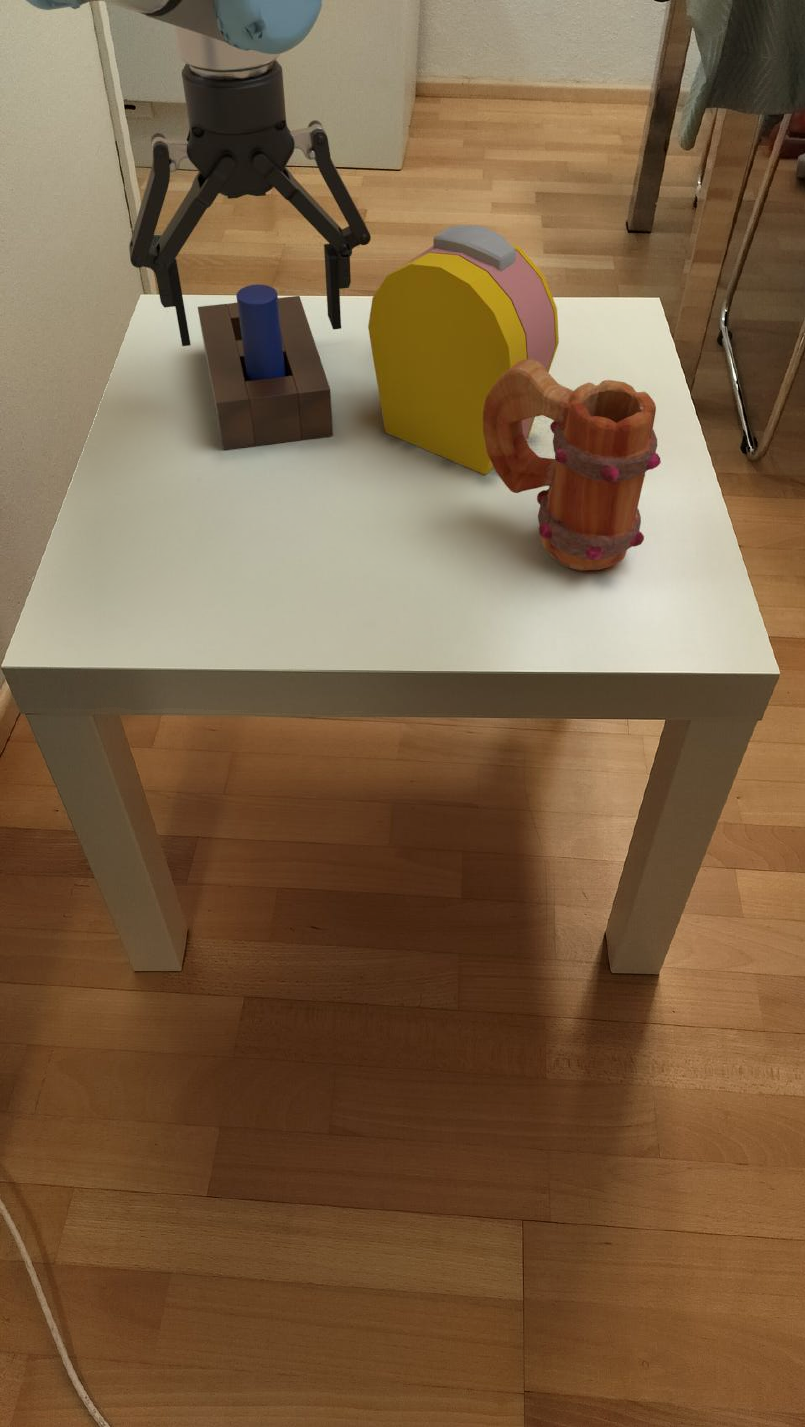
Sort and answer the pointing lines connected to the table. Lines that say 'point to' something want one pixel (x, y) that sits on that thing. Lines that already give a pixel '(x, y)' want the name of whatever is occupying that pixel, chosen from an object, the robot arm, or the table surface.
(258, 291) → the blue long cylinder
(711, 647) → the table surface
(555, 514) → the mug
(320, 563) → the table surface
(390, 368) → the alarm clock
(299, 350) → the holder
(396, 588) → the table surface
